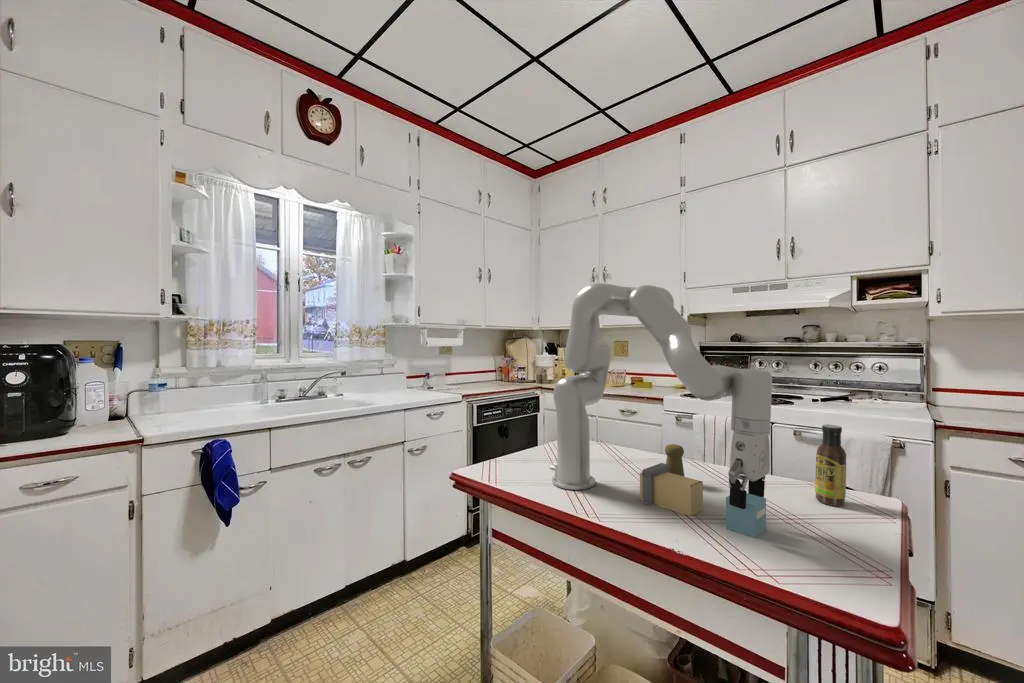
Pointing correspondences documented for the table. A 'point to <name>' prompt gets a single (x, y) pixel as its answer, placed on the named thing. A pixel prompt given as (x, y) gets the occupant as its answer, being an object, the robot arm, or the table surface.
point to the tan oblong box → (671, 490)
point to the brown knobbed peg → (675, 459)
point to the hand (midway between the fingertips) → (747, 501)
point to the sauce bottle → (831, 468)
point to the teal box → (747, 516)
